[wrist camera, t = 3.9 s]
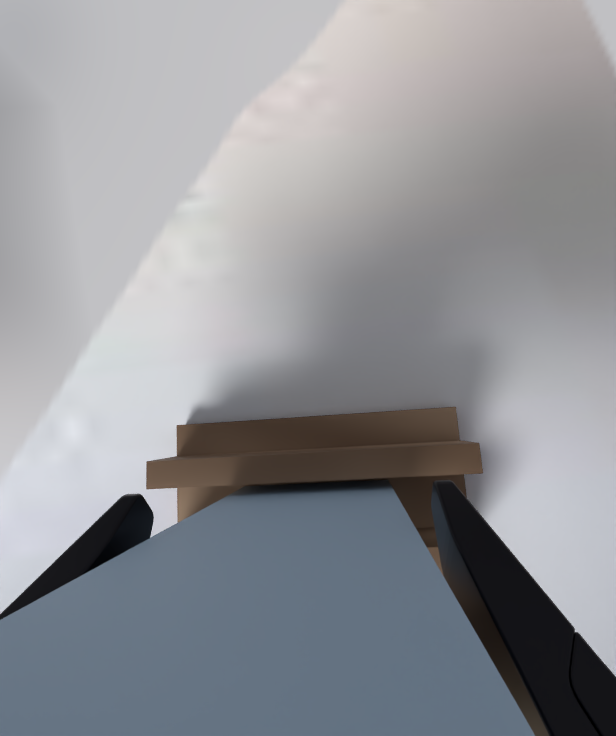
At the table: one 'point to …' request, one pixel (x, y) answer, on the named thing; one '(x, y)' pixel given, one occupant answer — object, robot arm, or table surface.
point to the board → (259, 631)
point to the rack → (322, 458)
